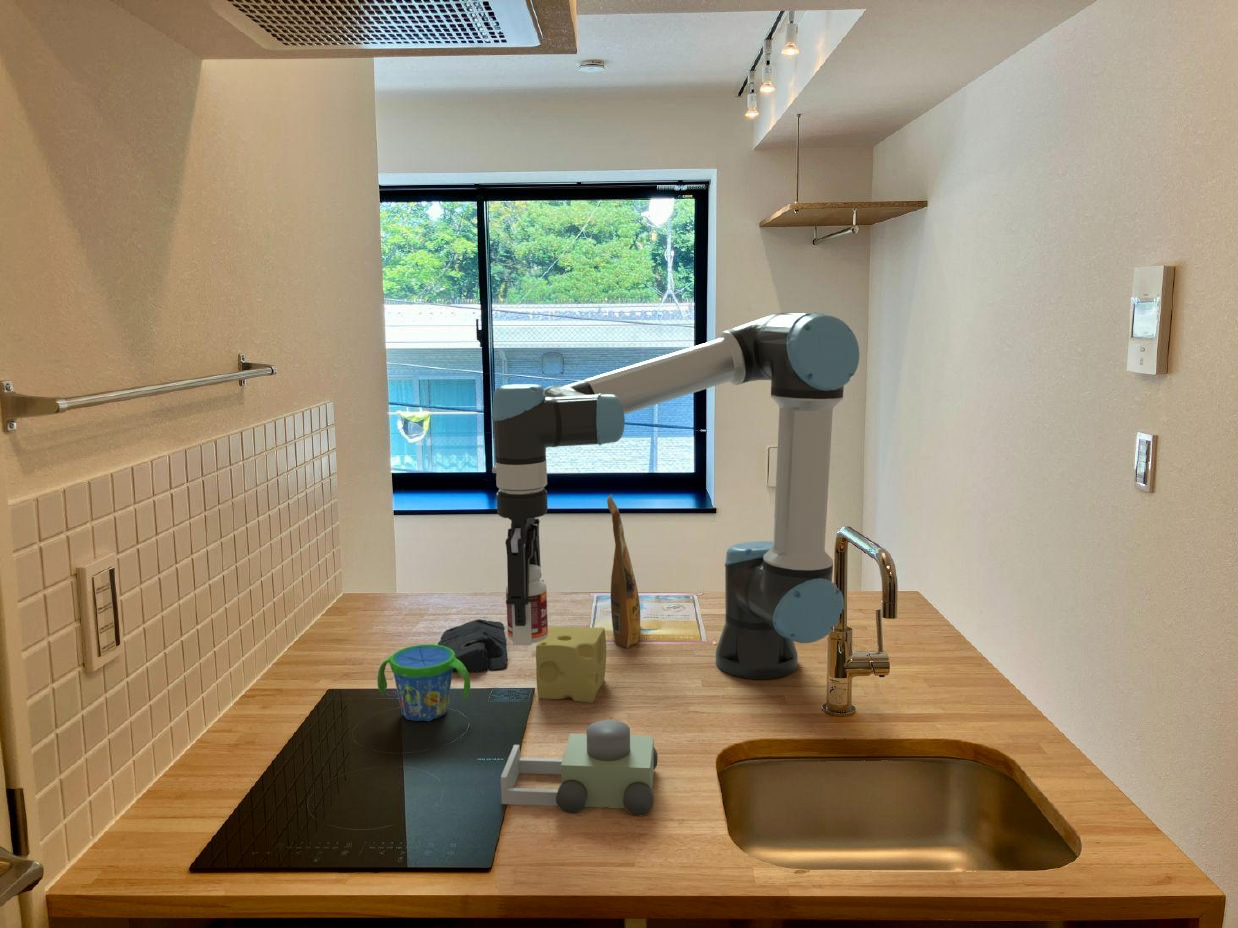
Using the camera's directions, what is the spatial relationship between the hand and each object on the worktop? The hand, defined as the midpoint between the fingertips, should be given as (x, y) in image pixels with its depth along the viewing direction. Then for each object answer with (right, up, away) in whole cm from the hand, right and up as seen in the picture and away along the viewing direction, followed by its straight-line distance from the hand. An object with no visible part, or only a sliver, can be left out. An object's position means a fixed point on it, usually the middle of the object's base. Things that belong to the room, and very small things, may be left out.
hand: (527, 635), depth 141 cm
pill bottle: (0, -1, 0) cm, 1 cm away
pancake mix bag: (+15, -9, +46) cm, 50 cm away
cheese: (+6, -14, +21) cm, 25 cm away
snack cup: (-18, -15, +12) cm, 27 cm away
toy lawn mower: (+9, -19, -12) cm, 24 cm away
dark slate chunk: (-15, -11, +39) cm, 43 cm away
